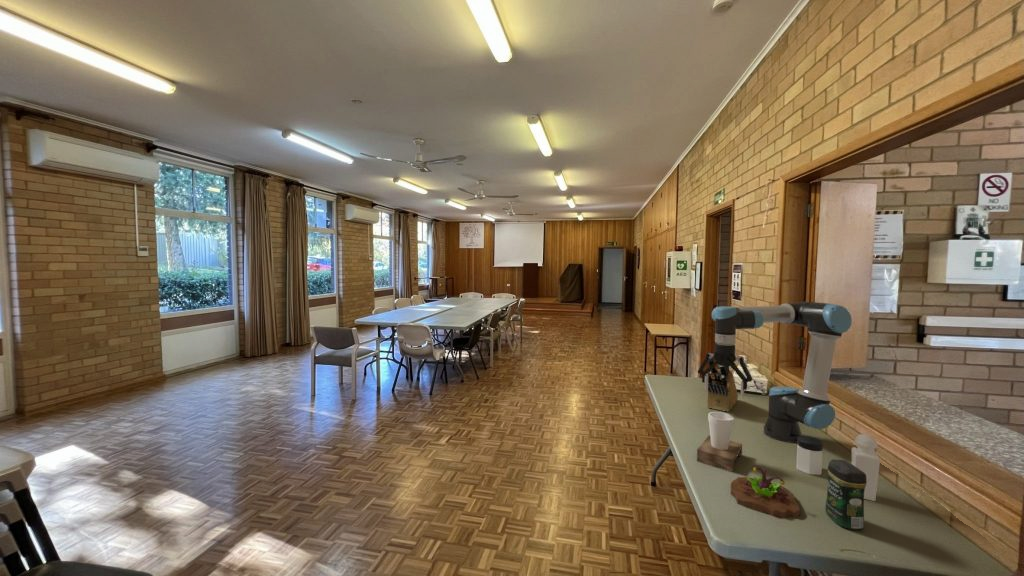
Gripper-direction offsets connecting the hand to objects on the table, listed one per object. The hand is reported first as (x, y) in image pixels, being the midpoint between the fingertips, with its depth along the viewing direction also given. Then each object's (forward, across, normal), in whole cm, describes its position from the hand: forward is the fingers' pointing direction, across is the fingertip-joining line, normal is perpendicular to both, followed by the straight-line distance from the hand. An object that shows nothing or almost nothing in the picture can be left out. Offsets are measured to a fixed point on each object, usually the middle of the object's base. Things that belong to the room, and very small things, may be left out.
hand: (723, 393), depth 166 cm
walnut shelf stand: (+27, 0, -3) cm, 27 cm away
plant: (+27, +18, -25) cm, 41 cm away
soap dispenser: (+28, +45, +1) cm, 52 cm away
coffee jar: (+27, +39, -22) cm, 53 cm away
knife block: (+28, -14, +64) cm, 72 cm away
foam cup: (+22, 0, -3) cm, 22 cm away
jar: (+27, +29, +10) cm, 41 cm away
